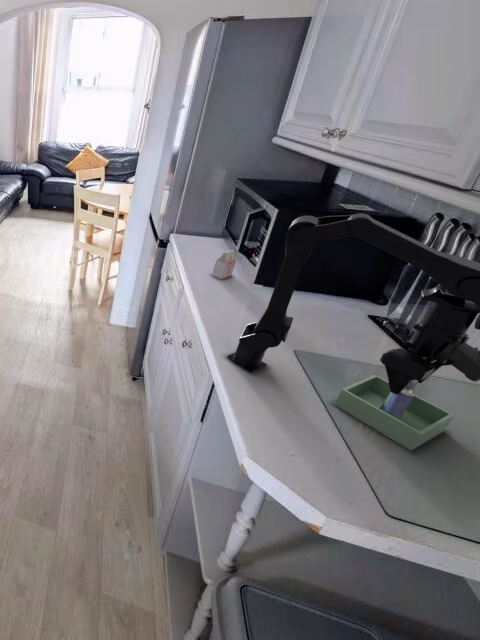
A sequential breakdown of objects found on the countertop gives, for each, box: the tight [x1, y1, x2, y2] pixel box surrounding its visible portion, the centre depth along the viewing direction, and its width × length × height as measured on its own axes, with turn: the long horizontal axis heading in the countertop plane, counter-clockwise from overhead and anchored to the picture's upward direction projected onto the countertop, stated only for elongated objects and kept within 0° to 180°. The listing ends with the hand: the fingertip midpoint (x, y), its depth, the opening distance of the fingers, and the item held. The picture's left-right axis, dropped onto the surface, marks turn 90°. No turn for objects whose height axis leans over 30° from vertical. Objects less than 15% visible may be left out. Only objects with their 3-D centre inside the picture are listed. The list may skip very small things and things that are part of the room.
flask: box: [379, 380, 419, 420], centre depth 83 cm, size 9×3×11 cm, turn 130°
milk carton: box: [211, 249, 237, 280], centre depth 147 cm, size 4×7×10 cm, turn 120°
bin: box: [333, 374, 456, 451], centre depth 85 cm, size 13×13×4 cm
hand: (405, 387), depth 82 cm, fingers open, 9 cm apart
